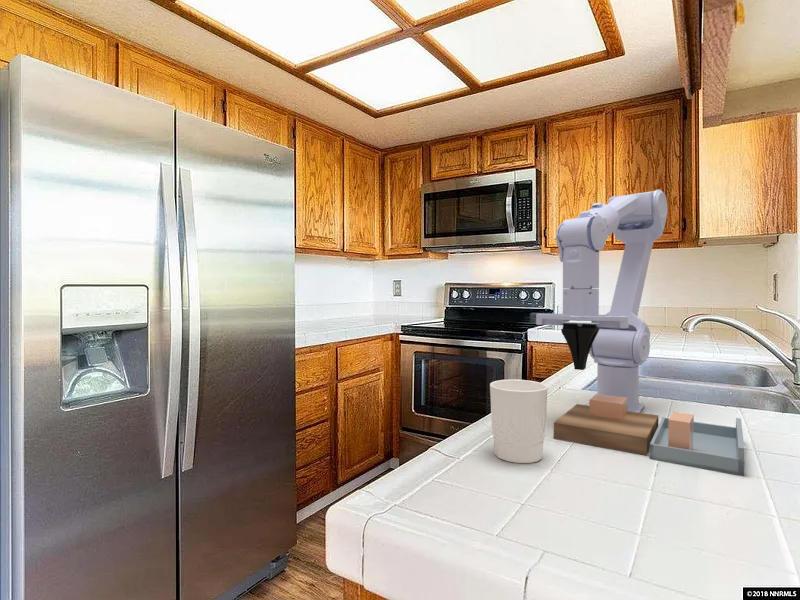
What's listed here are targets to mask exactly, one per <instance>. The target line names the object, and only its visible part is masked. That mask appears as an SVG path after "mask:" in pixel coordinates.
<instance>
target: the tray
mask: <svg viewBox="0 0 800 600" xmlns="http://www.w3.org/2000/svg"><path fill="white" fill-rule="evenodd" d="M669 418H670V417H661V420H660V421H659V423H658V428H657V430H656V432H655V434H654V436H653V439H652V441H651V443H650V449H649V459H650V460H657V461H662V462H667V463H673V464H678V465H684V466H688V467H692V468H693V467H694V468H699V469H704V470H709V471H714V472H715V471H716V472H720V473H726V474H732V475H735V476H736V475H737V476H741V477H744V476H745V443H744V442H745V441H744V433H743V432H744V431H743V425H742V418H740V417H735V427H734V426H727V425H721V424H720V425H719V424H714V423H713V424H712V423H706V422H705V423H704V422H701V421H700V422H697V421H694V430H693V450H687V449H681V448H675V447H669V446H668V427H669Z"/></svg>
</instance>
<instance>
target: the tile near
mask: <svg viewBox="0 0 800 600" xmlns="http://www.w3.org/2000/svg"><path fill="white" fill-rule="evenodd" d="M694 416H695V415H694V413H693V414H691V413H685V412H679V411H677V412H676V411H673V412H672V414H671V415H670V417H668V418H669V427H668V446H669V447H675V448H681V449H687V450H693V430H694V422H695V420H694V418H695V417H694Z"/></svg>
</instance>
